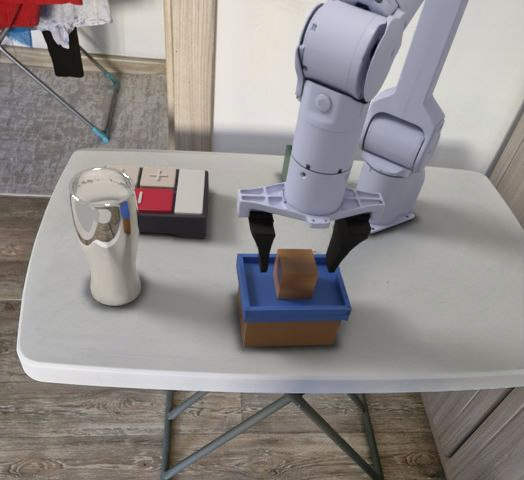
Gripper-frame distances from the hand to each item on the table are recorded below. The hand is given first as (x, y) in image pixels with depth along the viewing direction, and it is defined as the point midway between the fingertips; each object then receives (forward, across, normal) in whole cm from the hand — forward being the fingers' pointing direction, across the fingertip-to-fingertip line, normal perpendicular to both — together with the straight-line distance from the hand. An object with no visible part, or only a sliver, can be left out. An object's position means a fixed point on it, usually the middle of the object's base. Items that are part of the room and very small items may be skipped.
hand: (296, 266), depth 58 cm
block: (+3, 0, 0) cm, 3 cm away
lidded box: (+9, 0, 0) cm, 9 cm away
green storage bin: (+9, +8, +27) cm, 29 cm away
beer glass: (+9, -20, +6) cm, 23 cm away
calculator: (+9, -16, +21) cm, 28 cm away
